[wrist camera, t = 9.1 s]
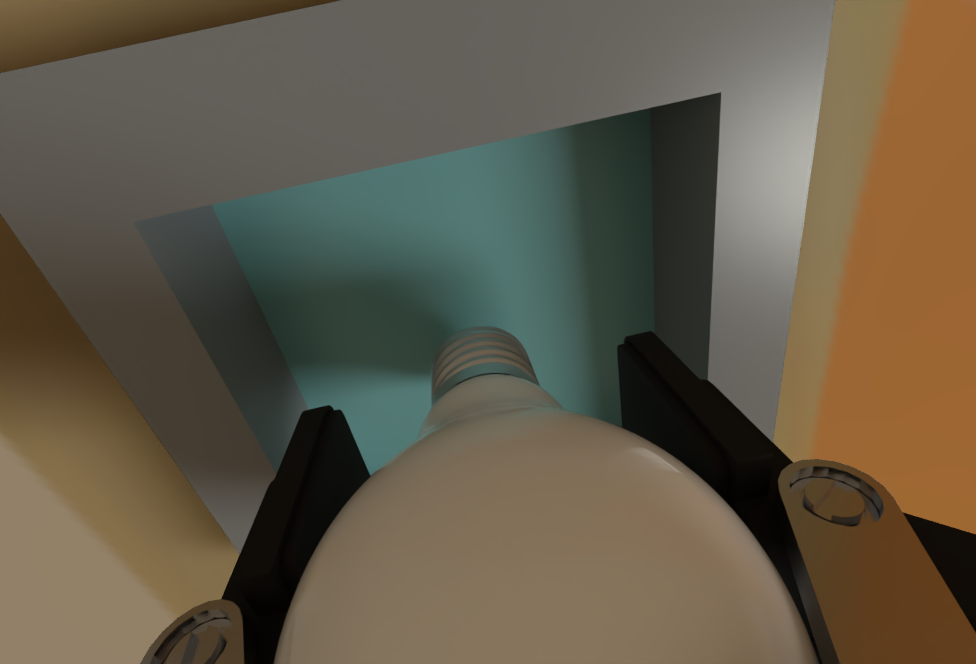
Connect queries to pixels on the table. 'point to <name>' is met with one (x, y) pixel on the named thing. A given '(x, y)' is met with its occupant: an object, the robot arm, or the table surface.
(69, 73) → the housing
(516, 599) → the lightbulb
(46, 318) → the table surface
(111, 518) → the table surface
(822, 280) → the table surface
